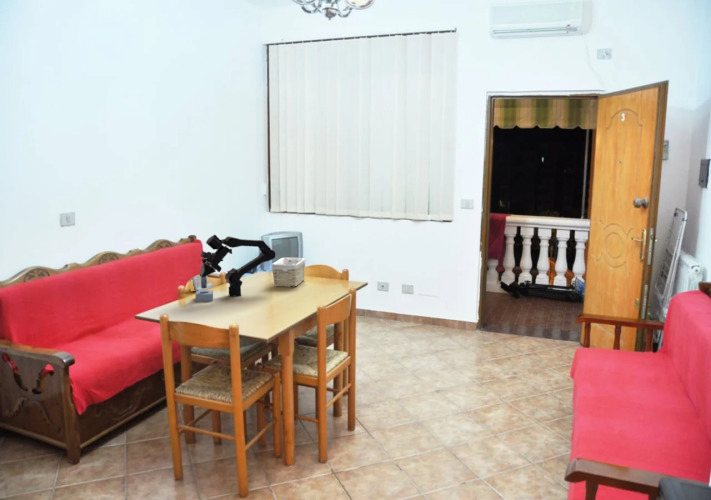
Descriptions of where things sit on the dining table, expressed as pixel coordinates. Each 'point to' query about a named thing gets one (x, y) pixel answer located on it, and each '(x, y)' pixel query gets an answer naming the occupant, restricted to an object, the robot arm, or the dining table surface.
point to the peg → (203, 279)
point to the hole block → (204, 296)
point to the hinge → (198, 283)
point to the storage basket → (288, 272)
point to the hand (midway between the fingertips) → (201, 276)
